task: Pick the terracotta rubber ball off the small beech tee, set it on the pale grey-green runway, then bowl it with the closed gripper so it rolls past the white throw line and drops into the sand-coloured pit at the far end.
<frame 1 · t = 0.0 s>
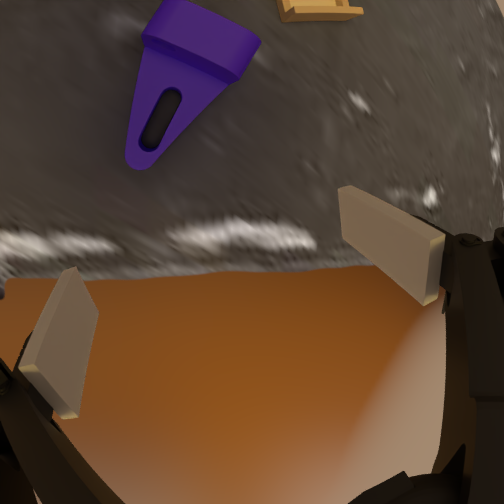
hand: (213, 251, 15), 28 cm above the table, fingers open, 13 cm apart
bracket: (168, 99, 36), on the table
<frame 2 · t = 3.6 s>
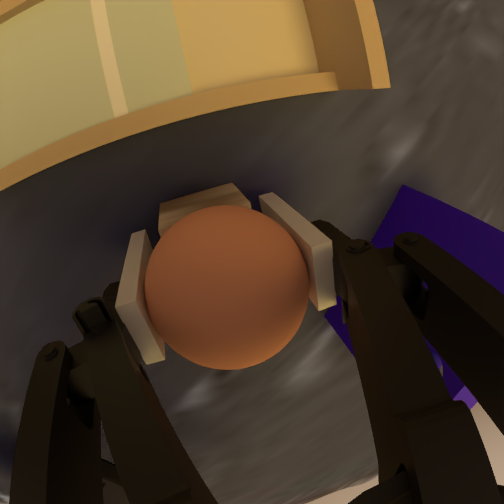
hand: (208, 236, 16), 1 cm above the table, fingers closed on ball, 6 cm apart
ball: (226, 287, 12), point 7 cm above the table, touching gripper, tee
bracket: (426, 285, 25), on the table
tee: (205, 226, 18), on the table
court: (117, 43, 12), on the table
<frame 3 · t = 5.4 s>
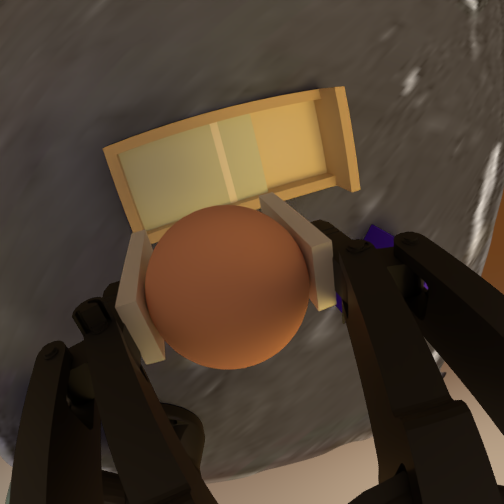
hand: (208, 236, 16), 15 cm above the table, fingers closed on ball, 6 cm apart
ball: (227, 287, 12), point 20 cm above the table, touching gripper
bracket: (392, 279, 42), on the table
court: (227, 160, 30), on the table
when the fingers open (2 cm above the table, at t = 7.3 s): ball drops 3 cm, resting on court.
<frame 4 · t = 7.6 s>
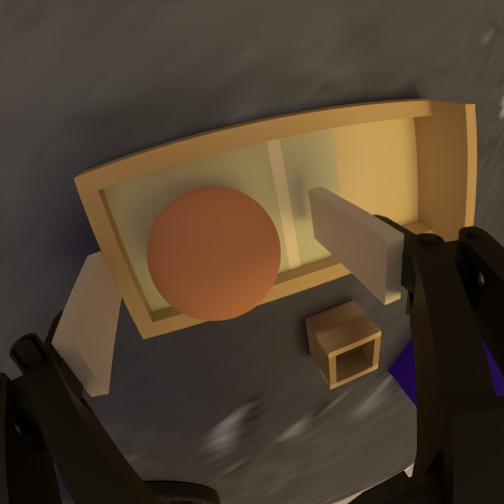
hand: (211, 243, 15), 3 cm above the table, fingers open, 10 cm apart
ball: (213, 253, 14), point 4 cm above the table, touching court
bracket: (453, 338, 31), on the table
tee: (331, 328, 24), on the table
court: (287, 200, 19), on the table
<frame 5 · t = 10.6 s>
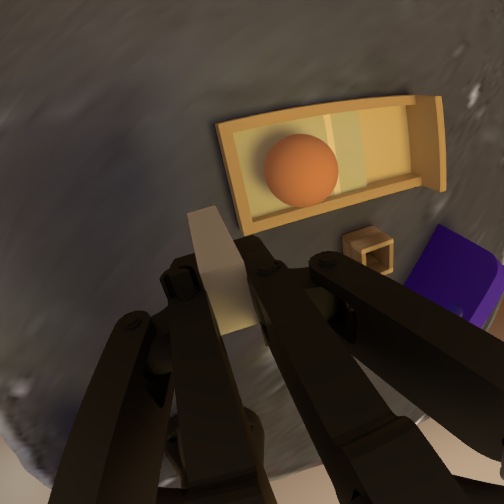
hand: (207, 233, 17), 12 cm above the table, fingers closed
ball: (301, 170, 25), point 4 cm above the table, touching court
bracket: (447, 276, 42), on the table
tee: (358, 246, 34), on the table
court: (332, 152, 29), on the table
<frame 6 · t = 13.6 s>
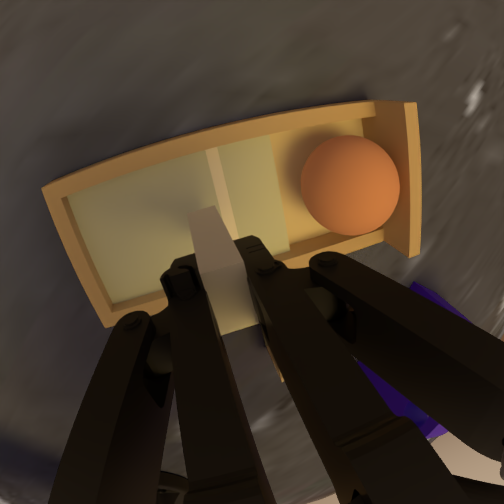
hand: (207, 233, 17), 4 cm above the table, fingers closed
ball: (350, 185, 18), point 3 cm above the table, tilted 131°, touching court
bracket: (425, 337, 33), on the table
court: (231, 203, 20), on the table
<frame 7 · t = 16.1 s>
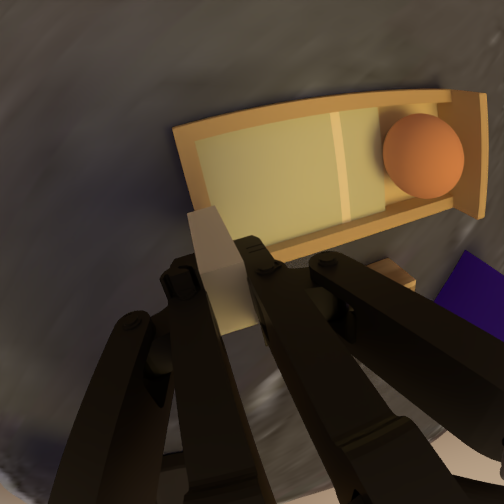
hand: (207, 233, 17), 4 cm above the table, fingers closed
ball: (423, 155, 19), point 3 cm above the table, tilted 161°, touching court
bracket: (467, 306, 34), on the table
tee: (369, 283, 27), on the table
court: (340, 164, 21), on the table
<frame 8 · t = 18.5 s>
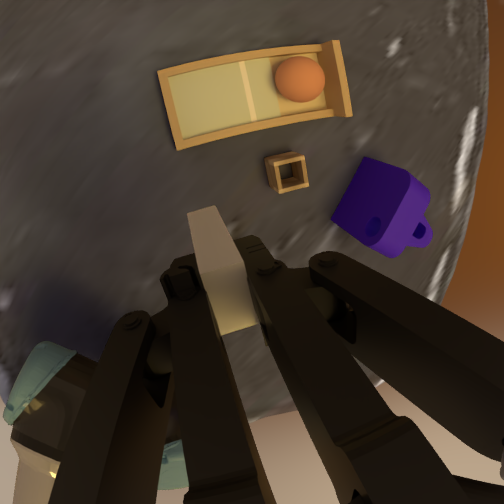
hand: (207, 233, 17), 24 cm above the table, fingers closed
ball: (300, 79, 34), point 3 cm above the table, tilted 153°, touching court
bracket: (384, 211, 49), on the table
tee: (280, 168, 41), on the table
court: (249, 91, 36), on the table
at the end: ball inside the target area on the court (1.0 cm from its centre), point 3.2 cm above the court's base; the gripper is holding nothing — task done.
